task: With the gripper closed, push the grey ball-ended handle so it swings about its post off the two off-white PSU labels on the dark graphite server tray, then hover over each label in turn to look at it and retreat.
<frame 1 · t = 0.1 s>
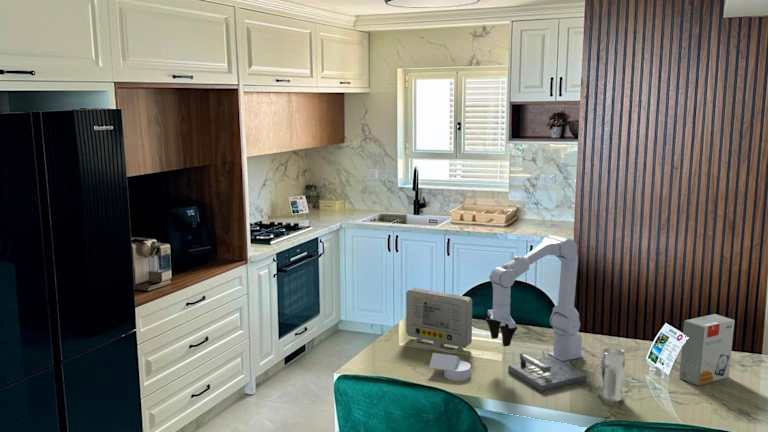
hand: (500, 342, 225), 10 cm above the table, tool pointing down, fingers open, 7 cm apart
grey ball-ended handle: (534, 362, 220), point 5 cm above the table, hinge at 0.0°
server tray: (546, 377, 221), on the table
network device: (437, 345, 250), on the table
wedge on round base: (451, 374, 224), on the table
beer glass: (611, 398, 206), on the table
hard drive box: (704, 378, 220), on the table
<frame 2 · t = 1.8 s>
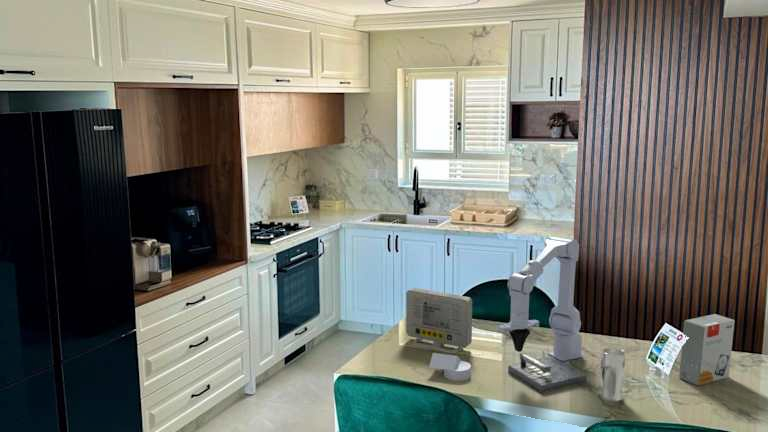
hand: (518, 350, 218), 10 cm above the table, tool pointing down, fingers closed
nothing on the table moved.
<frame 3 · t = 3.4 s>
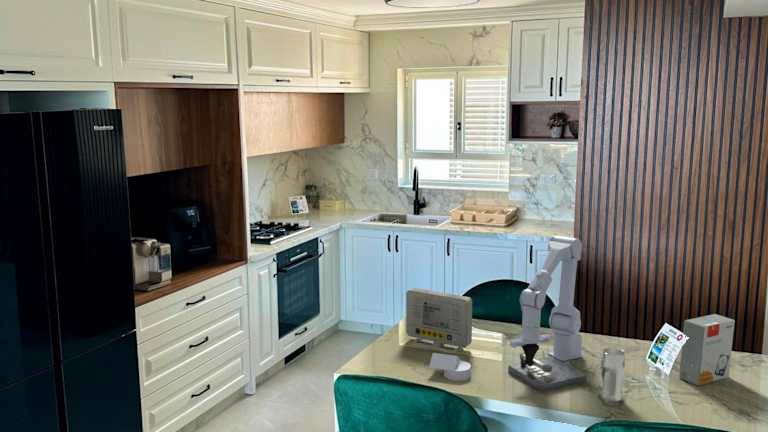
hand: (529, 364, 221), 4 cm above the table, tool pointing down, fingers closed, pressing on grey ball-ended handle
grey ball-ended handle: (534, 361, 220), point 5 cm above the table, hinge at 3.0°, touching gripper
everything else where it was.
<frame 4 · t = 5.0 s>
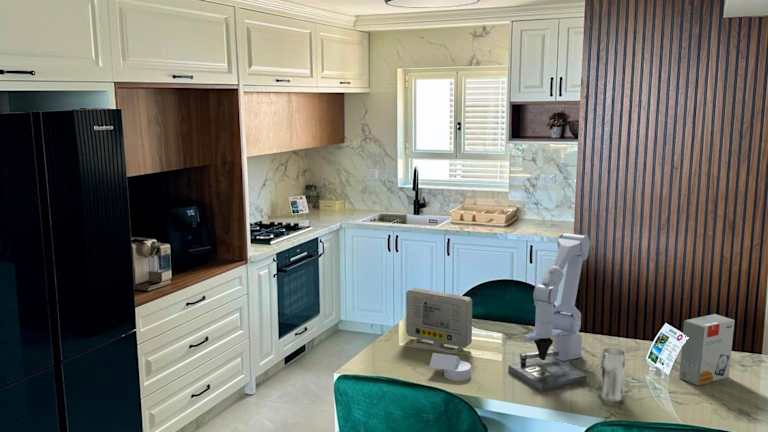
hand: (542, 359, 225), 4 cm above the table, tool pointing down, fingers closed, pressing on grey ball-ended handle
grey ball-ended handle: (538, 354, 227), point 5 cm above the table, hinge at 79.5°, touching gripper
everything else where it was.
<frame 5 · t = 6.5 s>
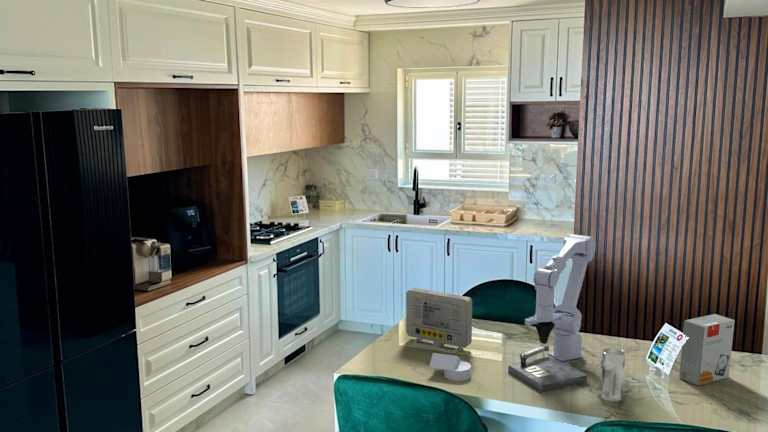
hand: (543, 342, 226), 9 cm above the table, tool pointing down, fingers closed
grey ball-ended handle: (533, 351, 229), point 5 cm above the table, hinge at 105.5°
everything else where it was.
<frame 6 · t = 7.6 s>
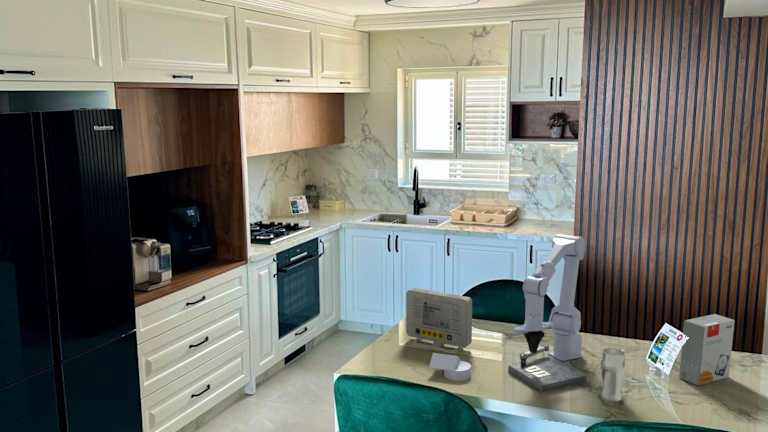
hand: (533, 352, 220), 8 cm above the table, tool pointing down, fingers closed
nothing on the table moved.
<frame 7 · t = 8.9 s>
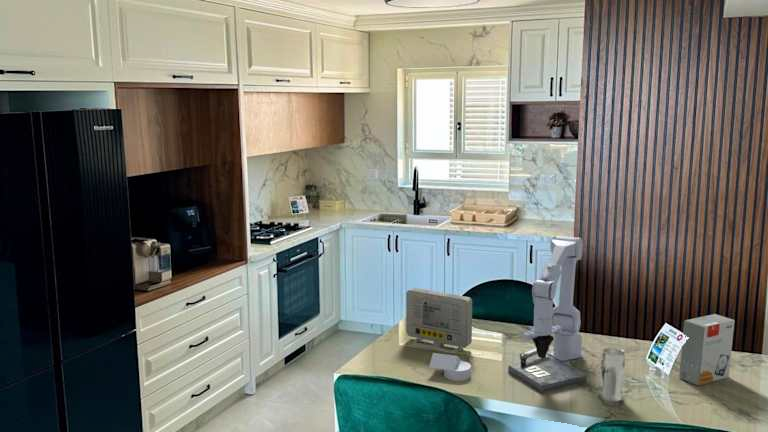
hand: (541, 357, 216), 8 cm above the table, tool pointing down, fingers closed
nothing on the table moved.
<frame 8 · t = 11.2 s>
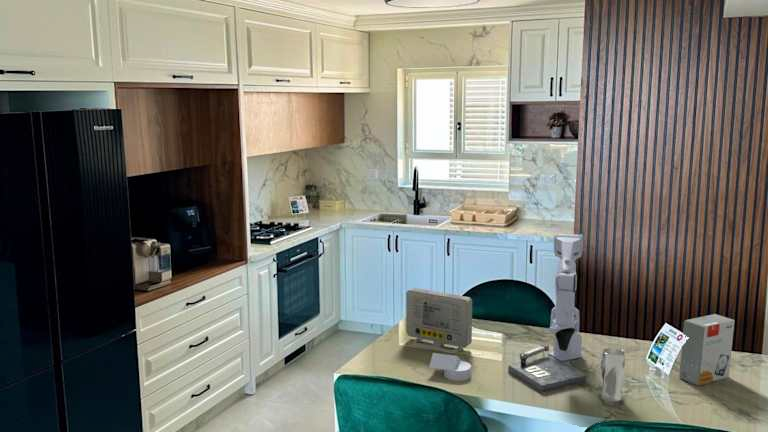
hand: (563, 349, 217), 10 cm above the table, tool pointing down, fingers closed
nothing on the table moved.
at the end: grey ball-ended handle at +106° (first picture: +0°) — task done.
